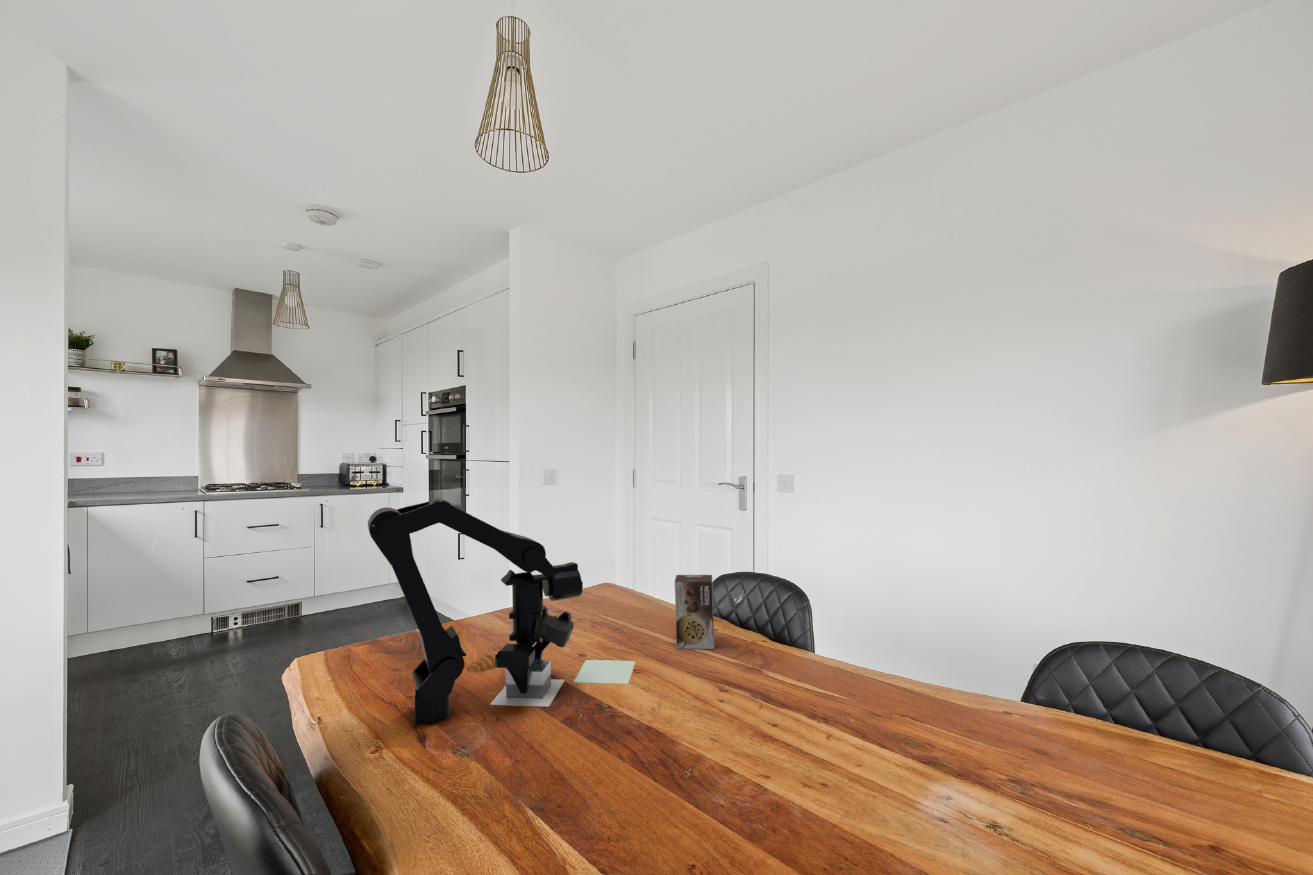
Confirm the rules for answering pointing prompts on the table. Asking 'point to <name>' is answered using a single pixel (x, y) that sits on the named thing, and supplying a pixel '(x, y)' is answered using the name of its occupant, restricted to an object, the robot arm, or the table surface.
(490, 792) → the table surface
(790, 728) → the table surface
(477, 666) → the pastry
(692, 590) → the coffee box
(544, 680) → the block
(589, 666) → the stand
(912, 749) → the table surface
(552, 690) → the stand
